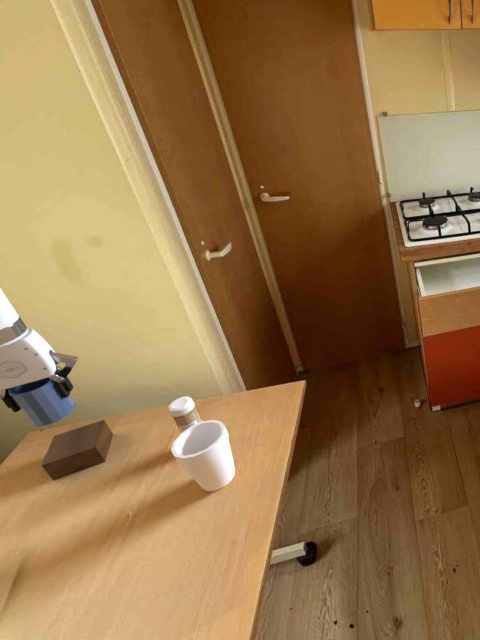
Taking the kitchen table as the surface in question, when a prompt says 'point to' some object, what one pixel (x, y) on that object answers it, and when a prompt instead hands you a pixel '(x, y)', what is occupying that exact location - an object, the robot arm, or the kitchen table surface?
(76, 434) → the block
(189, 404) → the sprinkles bottle
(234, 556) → the kitchen table surface
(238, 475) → the kitchen table surface
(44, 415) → the cup
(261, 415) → the kitchen table surface
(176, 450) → the foam cup
